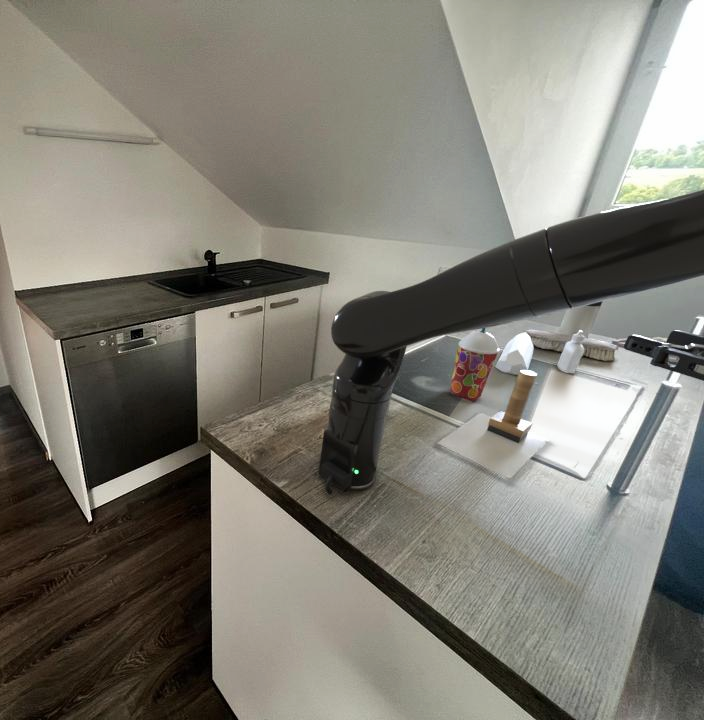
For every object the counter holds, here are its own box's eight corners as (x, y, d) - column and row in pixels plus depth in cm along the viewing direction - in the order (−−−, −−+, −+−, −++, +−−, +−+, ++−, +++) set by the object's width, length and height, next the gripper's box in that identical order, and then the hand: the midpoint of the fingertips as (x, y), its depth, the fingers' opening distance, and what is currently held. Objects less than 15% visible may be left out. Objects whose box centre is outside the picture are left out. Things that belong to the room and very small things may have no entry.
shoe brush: (612, 356, 122) (619, 341, 120) (615, 364, 117) (622, 348, 115) (519, 339, 136) (524, 326, 134) (518, 345, 130) (523, 331, 128)
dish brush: (518, 443, 78) (542, 381, 72) (486, 430, 82) (505, 370, 76) (528, 435, 80) (551, 374, 75) (495, 422, 85) (515, 364, 79)
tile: (508, 483, 69) (510, 478, 68) (435, 447, 78) (436, 443, 78) (547, 443, 79) (549, 439, 79) (479, 416, 89) (480, 412, 89)
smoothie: (480, 392, 99) (504, 318, 91) (485, 407, 93) (511, 328, 85) (444, 386, 103) (463, 313, 95) (446, 400, 96) (467, 323, 88)
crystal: (502, 335, 128) (489, 357, 111) (528, 329, 122) (519, 351, 106) (509, 356, 128) (498, 381, 111) (536, 351, 123) (528, 376, 106)
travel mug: (592, 344, 132) (613, 292, 125) (568, 343, 132) (588, 291, 125) (573, 336, 139) (592, 286, 132) (550, 335, 139) (568, 286, 132)
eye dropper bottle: (554, 370, 112) (569, 331, 107) (557, 364, 116) (572, 326, 111) (573, 375, 109) (589, 335, 105) (576, 369, 113) (592, 330, 108)
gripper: (896, 352, 42) (695, 310, 56) (814, 364, 38) (623, 317, 53) (850, 412, 45) (671, 358, 59) (771, 428, 41) (602, 367, 56)
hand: (649, 338), depth 56 cm, fingers open, 8 cm apart
